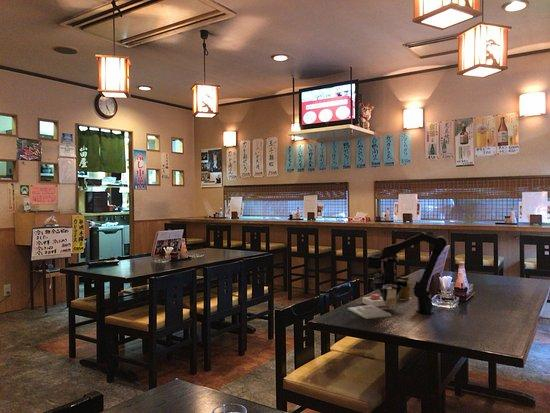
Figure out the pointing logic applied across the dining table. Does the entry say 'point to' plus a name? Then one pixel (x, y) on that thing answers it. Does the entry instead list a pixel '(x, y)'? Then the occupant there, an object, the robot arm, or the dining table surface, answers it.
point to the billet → (390, 297)
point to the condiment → (404, 290)
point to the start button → (375, 297)
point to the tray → (369, 311)
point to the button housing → (372, 301)
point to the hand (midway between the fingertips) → (389, 300)
